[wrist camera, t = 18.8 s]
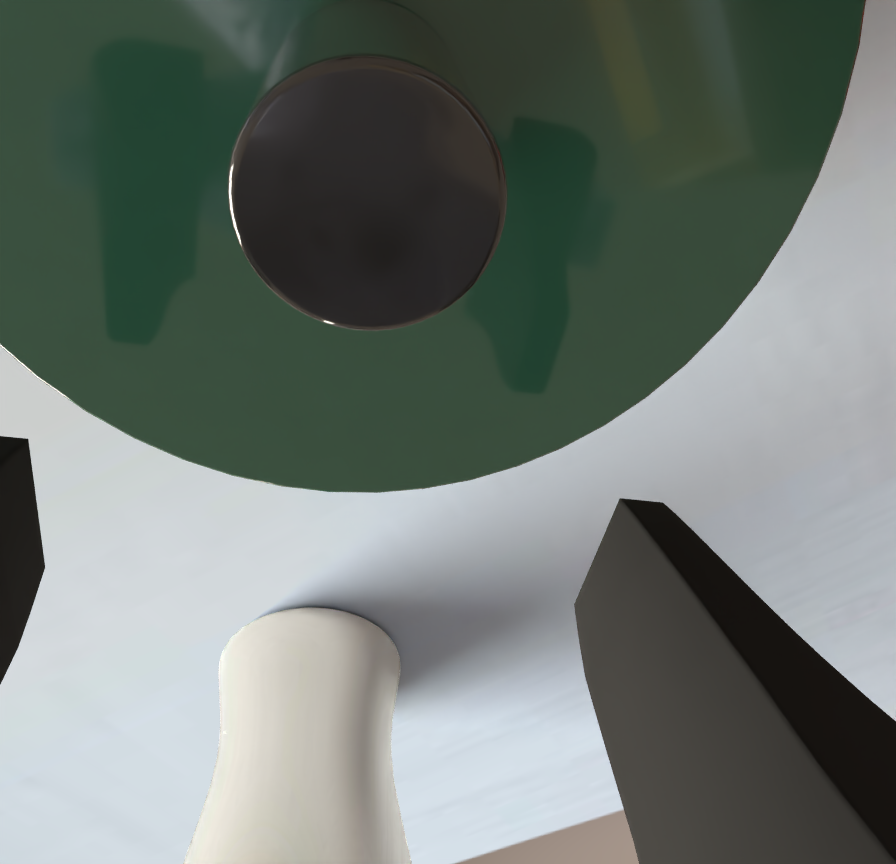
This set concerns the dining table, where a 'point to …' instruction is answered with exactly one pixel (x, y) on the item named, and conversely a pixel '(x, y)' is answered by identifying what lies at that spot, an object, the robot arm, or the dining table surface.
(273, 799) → the beer glass
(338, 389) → the lid
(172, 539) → the dining table surface
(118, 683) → the dining table surface
